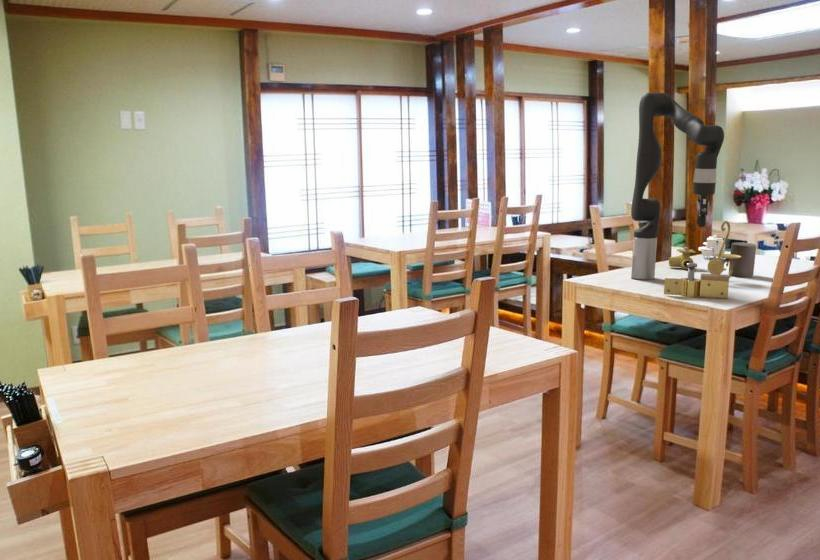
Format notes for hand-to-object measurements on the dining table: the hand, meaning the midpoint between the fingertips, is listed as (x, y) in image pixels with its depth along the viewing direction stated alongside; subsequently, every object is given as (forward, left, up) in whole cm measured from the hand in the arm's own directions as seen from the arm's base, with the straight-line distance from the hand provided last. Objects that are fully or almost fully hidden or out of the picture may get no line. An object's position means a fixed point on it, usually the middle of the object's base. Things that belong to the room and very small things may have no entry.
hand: (700, 225), depth 249 cm
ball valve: (-2, +56, -26) cm, 62 cm away
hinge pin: (-3, -7, -25) cm, 26 cm away
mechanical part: (+14, +89, -26) cm, 94 cm away
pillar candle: (+21, +43, -26) cm, 55 cm away
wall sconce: (+12, +25, -26) cm, 38 cm away
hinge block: (-1, -7, -25) cm, 26 cm away
